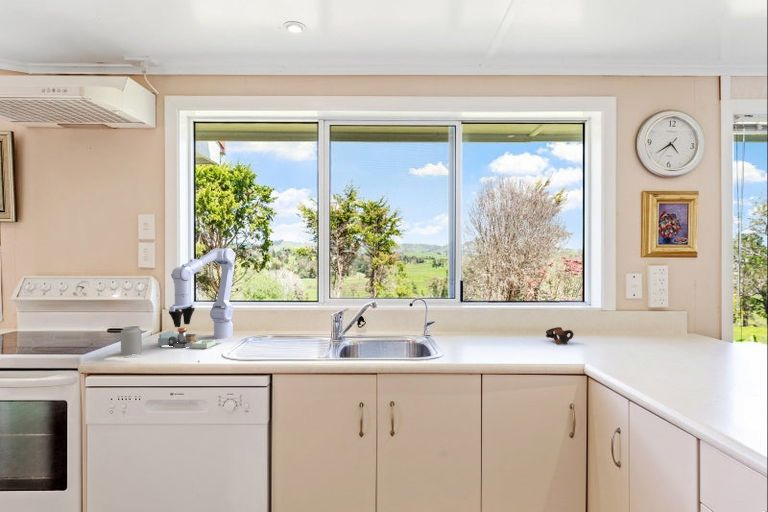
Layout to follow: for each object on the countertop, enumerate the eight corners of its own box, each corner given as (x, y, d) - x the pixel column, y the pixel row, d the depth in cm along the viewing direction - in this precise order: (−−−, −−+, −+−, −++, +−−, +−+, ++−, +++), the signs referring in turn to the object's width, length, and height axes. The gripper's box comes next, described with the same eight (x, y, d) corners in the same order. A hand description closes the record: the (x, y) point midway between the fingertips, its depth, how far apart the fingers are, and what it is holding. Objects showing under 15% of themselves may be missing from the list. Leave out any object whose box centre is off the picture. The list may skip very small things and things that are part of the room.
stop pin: (181, 345, 197) (180, 327, 197) (189, 345, 197) (188, 327, 197) (175, 347, 194) (175, 329, 194) (183, 347, 193) (183, 329, 193)
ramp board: (173, 344, 206) (173, 338, 206) (221, 345, 202) (221, 339, 202) (155, 350, 194) (155, 343, 194) (206, 352, 190) (206, 345, 190)
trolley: (173, 341, 205) (173, 330, 205) (188, 342, 204) (187, 330, 204) (158, 346, 195) (158, 334, 195) (173, 347, 194) (173, 335, 194)
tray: (201, 344, 199) (201, 339, 199) (215, 345, 198) (215, 340, 198) (192, 348, 192) (192, 343, 192) (206, 348, 191) (206, 343, 191)
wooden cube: (188, 342, 204) (187, 333, 204) (196, 342, 203) (195, 334, 203) (182, 344, 200) (182, 335, 200) (190, 344, 199) (190, 335, 199)
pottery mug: (550, 346, 202) (544, 329, 205) (549, 351, 210) (543, 334, 214) (577, 340, 200) (571, 322, 204) (575, 345, 208) (568, 328, 212)
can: (125, 359, 178) (125, 329, 178) (117, 356, 183) (117, 327, 183) (145, 355, 184) (144, 326, 184) (136, 353, 189) (136, 324, 189)
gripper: (183, 292, 203) (183, 322, 203) (162, 296, 188) (163, 328, 189) (197, 293, 202) (198, 323, 202) (178, 296, 187) (178, 328, 187)
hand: (182, 325), depth 195 cm, fingers open, 6 cm apart
